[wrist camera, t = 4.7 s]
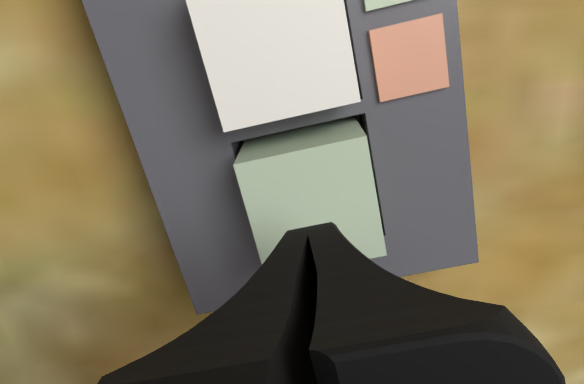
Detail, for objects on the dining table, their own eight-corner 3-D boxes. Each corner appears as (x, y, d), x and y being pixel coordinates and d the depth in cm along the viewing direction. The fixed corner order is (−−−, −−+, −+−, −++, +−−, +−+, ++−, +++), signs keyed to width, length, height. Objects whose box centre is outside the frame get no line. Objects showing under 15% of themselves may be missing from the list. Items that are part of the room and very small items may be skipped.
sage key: (371, 215, 18) (386, 255, 15) (271, 234, 19) (266, 278, 15) (353, 114, 17) (366, 135, 14) (245, 139, 17) (233, 165, 14)
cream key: (348, 87, 16) (360, 101, 13) (237, 112, 17) (223, 132, 14) (326, -39, 15) (334, -58, 12) (205, -8, 15) (180, -18, 12)
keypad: (453, 229, 20) (480, 264, 17) (209, 276, 21) (195, 317, 18) (394, -338, 13) (422, -444, 10) (39, -225, 14) (-29, -292, 11)
